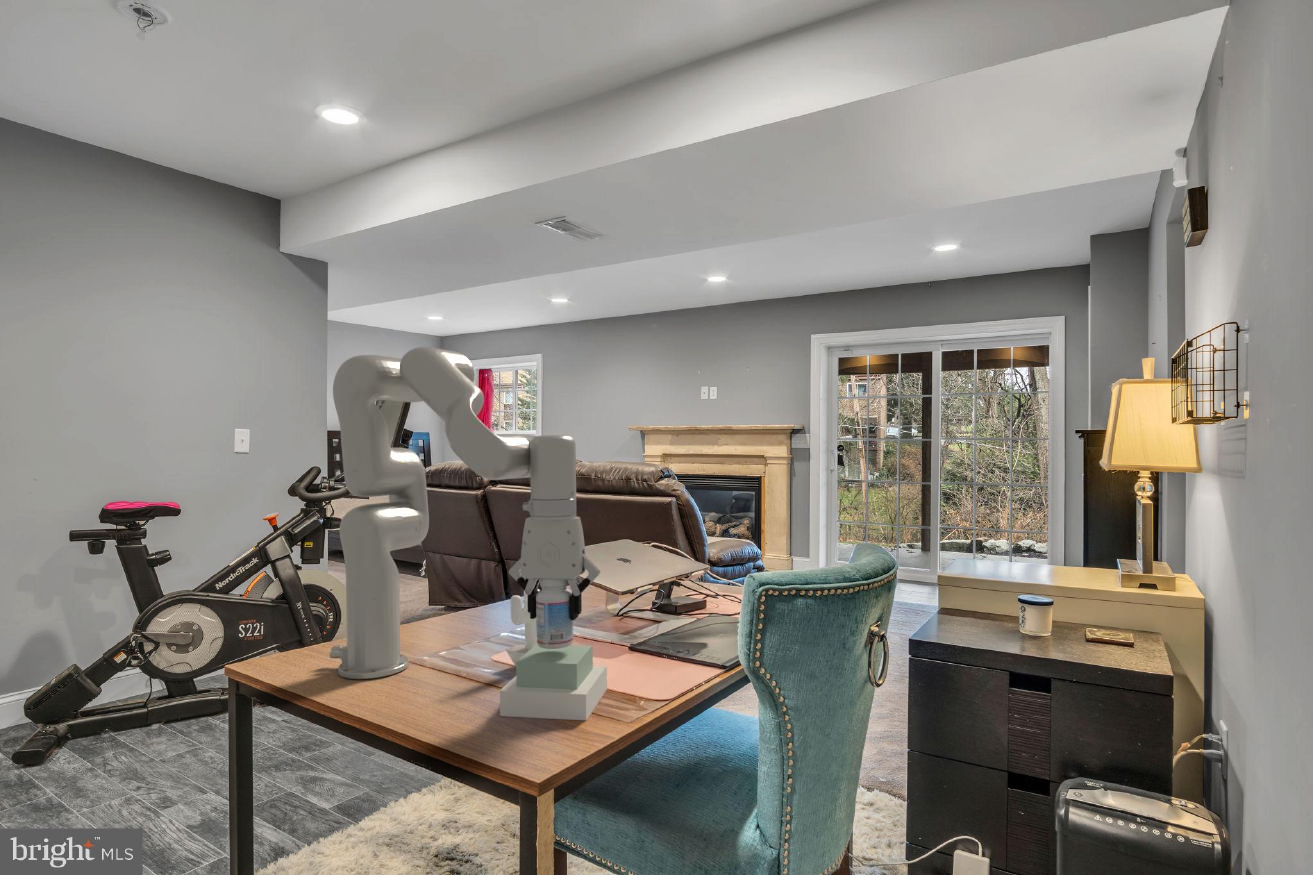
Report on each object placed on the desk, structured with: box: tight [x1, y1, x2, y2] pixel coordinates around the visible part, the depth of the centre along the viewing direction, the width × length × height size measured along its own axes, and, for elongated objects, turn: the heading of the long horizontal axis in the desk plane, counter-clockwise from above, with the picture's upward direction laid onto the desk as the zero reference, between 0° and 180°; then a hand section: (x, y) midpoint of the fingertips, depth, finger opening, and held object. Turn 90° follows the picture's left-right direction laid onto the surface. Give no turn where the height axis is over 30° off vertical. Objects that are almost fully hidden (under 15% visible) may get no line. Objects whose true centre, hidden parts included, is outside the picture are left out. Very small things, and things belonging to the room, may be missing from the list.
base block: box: [499, 664, 608, 721], centre depth 116 cm, size 14×14×4 cm
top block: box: [515, 644, 594, 689], centre depth 116 cm, size 10×10×4 cm
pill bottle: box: [536, 580, 574, 649], centre depth 116 cm, size 6×6×11 cm
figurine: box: [505, 588, 541, 667], centre depth 135 cm, size 7×9×15 cm
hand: (554, 616), depth 116 cm, fingers closed on pill bottle, 6 cm apart
